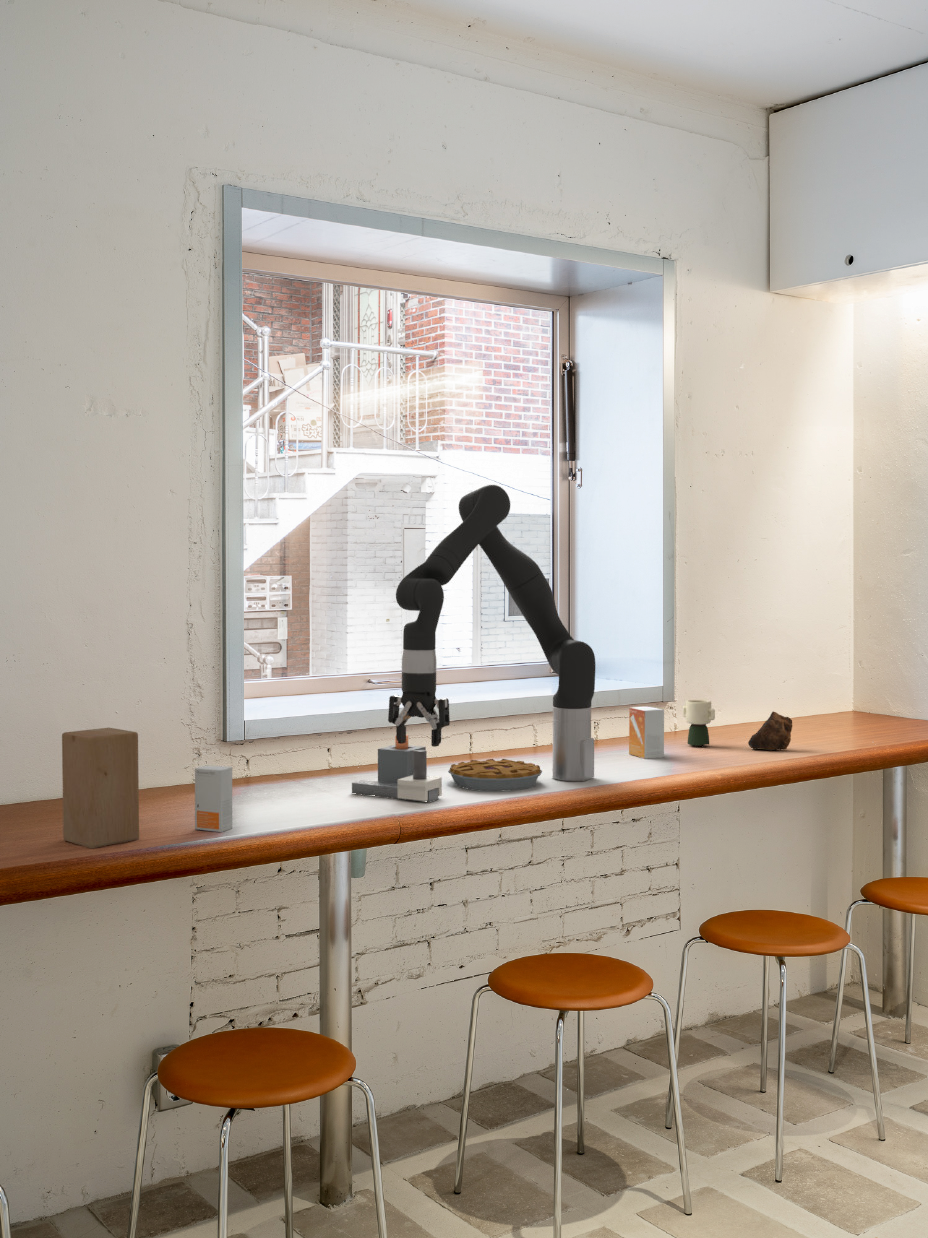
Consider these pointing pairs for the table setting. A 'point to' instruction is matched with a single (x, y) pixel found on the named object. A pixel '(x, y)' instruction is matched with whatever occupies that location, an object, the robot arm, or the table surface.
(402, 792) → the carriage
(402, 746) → the button
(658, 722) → the small box
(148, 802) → the table surface
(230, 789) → the skincare box
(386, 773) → the grey cube-like block
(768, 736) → the decorative rock
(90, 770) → the wooden block
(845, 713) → the table surface
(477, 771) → the pie
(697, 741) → the character mug
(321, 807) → the table surface
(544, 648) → the robot arm
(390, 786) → the rail
